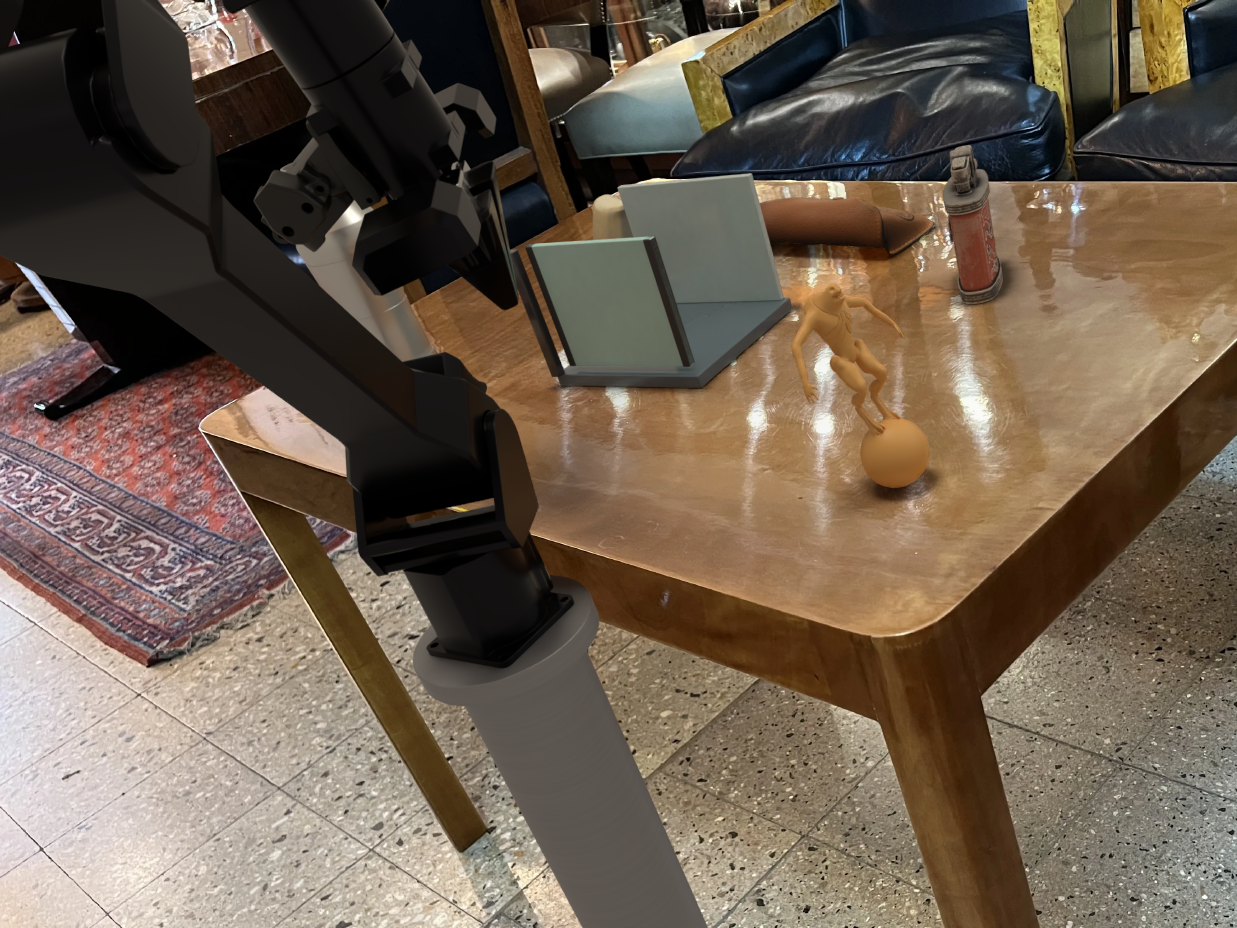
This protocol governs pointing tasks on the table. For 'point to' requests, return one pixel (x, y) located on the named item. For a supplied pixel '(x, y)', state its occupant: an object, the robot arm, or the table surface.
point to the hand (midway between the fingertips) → (511, 305)
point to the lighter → (972, 228)
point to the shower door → (611, 302)
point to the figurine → (863, 387)
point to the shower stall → (690, 278)
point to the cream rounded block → (610, 219)
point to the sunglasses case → (842, 223)
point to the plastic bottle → (364, 289)
